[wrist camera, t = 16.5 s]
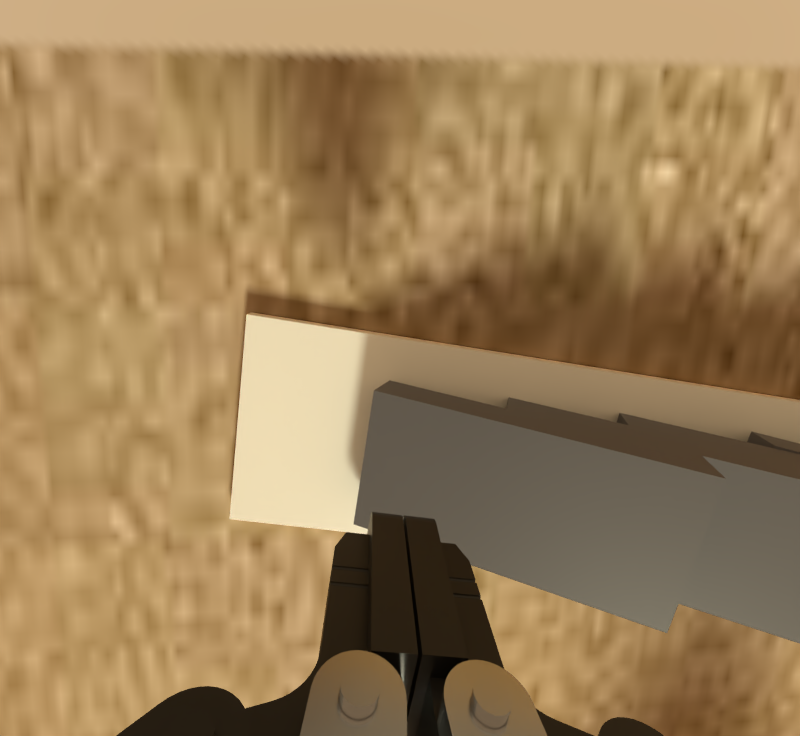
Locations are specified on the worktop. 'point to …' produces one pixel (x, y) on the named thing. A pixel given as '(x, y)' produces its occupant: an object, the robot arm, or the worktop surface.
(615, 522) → the domino
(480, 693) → the robot arm
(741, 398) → the strip
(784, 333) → the worktop surface
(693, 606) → the domino
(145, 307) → the worktop surface
